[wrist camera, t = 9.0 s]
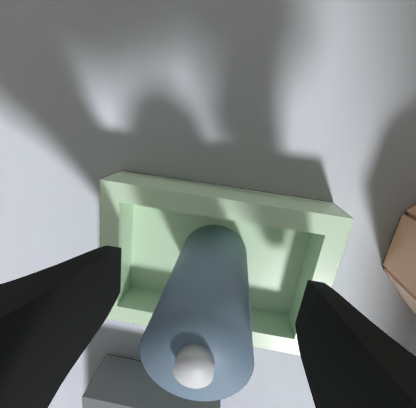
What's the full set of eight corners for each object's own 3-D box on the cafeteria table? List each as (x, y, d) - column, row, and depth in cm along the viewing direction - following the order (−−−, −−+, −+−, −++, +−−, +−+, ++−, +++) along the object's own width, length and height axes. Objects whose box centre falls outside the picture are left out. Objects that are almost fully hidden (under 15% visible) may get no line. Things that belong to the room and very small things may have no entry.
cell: (254, 233, 11) (270, 343, 6) (237, 288, 12) (237, 429, 7) (189, 217, 12) (142, 309, 6) (177, 273, 12) (127, 399, 7)
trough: (333, 202, 11) (353, 218, 9) (298, 323, 13) (308, 357, 11) (122, 170, 12) (99, 179, 10) (119, 290, 14) (100, 317, 12)
